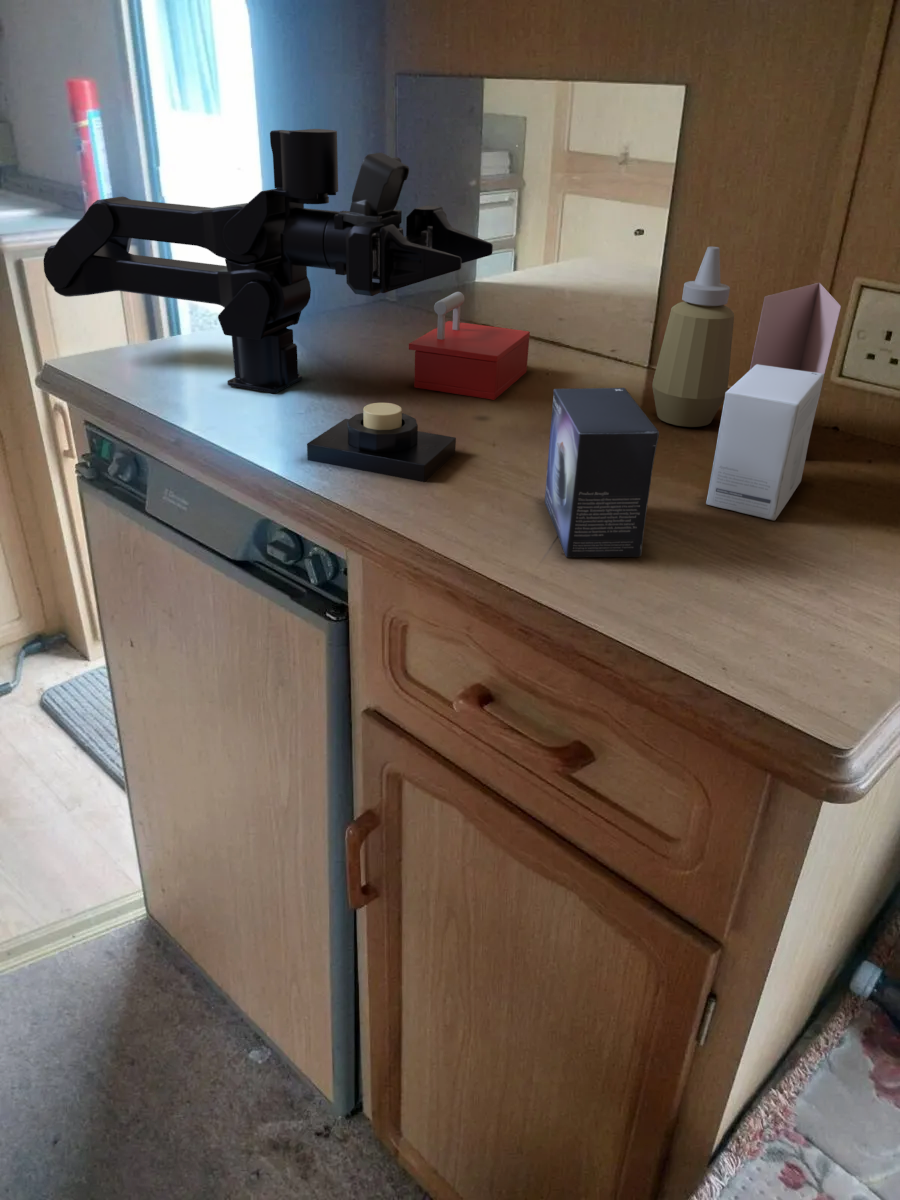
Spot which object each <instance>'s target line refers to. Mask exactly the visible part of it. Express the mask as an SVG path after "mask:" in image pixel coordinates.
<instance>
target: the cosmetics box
mask: <svg viewBox="0 0 900 1200" xmlns="http://www.w3.org/2000/svg"><path fill="white" fill-rule="evenodd" d="M824 378H825V374H822V373H816V372H808V371H801V370H794V369H787V368H780V367H773V366H766V365H759V364H756V365H755V366H754V367H753V368H752V369H751V370H750V369H749V370H748V371H747V372H746V373H744V375H743V376H742V377H741V378H739V379H738V380H737V381H736V382H735V383H734V384H733V385H732V386H731V387H729V389H727V391H726V393H725V398H724V400H723V405H722V410H721V417H720V423H719V428H718V434H717V439H716V446H715V451H714V457H713V463H712V468H711V474H710V479H709V485H708V491H707V497H706V502H705V504H706V505H708V506H710V507H715V508H718V509H723V510H729V511H732V512H733V511H734V512H737V513H741V514H745V515H748V516H749V515H750V516H754V517H757V518H762V519H766V520H769V521H776V519H777V518H778V517H779V515H780V514H781V513H782V511H783V510H784V508H785V507H786V505H787V504H788V502H789V500H790V499H791V498H792V496H793V494H794V493H795V491H796V489H797V488H798V487H799V485H800V484H801V482H802V480H803V479H802V478H803V473H804V469H805V465H806V459H807V453H808V448H809V443H810V438H811V434H812V429H813V425H814V421H815V416H816V412H817V407H818V404H819V400H820V396H821V393H822V387H823V382H824Z"/></svg>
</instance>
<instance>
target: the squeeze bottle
mask: <svg viewBox="0 0 900 1200" xmlns="http://www.w3.org/2000/svg"><path fill="white" fill-rule="evenodd" d="M720 253H721V252H720V247H719V246H707V248H706V250H705V253H704V255H703V258H702V261H701V263H700V267H699V269H698V271H697V274H696V276H695V280H690V281H686V282H684V284H683V288H682V296H681V297H682V298H681V300H682V301H680V302H678V303H676V304H675V305H673V306H672V307H671V309H670V313H669V316H668V320H667V324H666V328H665V332H664V335H663V340H662V344H661V348H660V352H659V356H658V359H657V364H656V367H655V371H654V375H653V380H652V384H651V387H652V393H653V399H654V405H655V411H656V416H657V418H658V419H659V420H660V421H662V422H664V423H667V424H670V425H673V426H677V427H684V428H685V427H687V428H701V427H704V426H708V425H709V424H711V423H712V421H713V420H714V418H715V416H716V414H717V412H718V411H719V409H720V407H721V405H722V404H723V403H724V399H725V393H726V391H728V390H729V389H728V388H729V379H730V378H729V377H730V366H731V356H732V344H733V343H732V342H733V335H734V323H735V313H734V311H733V310H732V309H731V308H730V307H728V306H726V305H727V304H728V302H729V296H730V291H731V287H730V286H729V285H728V284H725V283H721V254H720Z"/></svg>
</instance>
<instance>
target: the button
mask: <svg viewBox="0 0 900 1200" xmlns="http://www.w3.org/2000/svg"><path fill="white" fill-rule="evenodd" d="M362 411H363V412H362V413H363V418H364V426H365V427H367V428H370V429H376V430H392V429H396V428H401V427H402V413H403V408H402V407H401V406H400V405H398V404H395V403H391V402H373V403H368V404H367V405H365V406H364V407H363V409H362Z"/></svg>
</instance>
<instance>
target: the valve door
mask: <svg viewBox="0 0 900 1200" xmlns="http://www.w3.org/2000/svg"><path fill="white" fill-rule="evenodd" d="M464 303H465V295H464V293H462V292H460V291H455V292H453V293H452V294H449V295H447V296H446V297H444V298H441V299H440V300H438V301H436V302H435V304H434V306H433V310H434V313H435V314H436V315H437V327H435V328H433V329H431V330H430V331H428V332H426V333H424V334H423V335H421V336H419V337H418V338H416V339H415V340H413V341H411V342H409V343H408V350H409V351H423V352H430V353H437V354H443V355H450V356H457V357H464V358H471V359H478V360H485V361H492V362H498V361H499V360H500V359H501V358H503V357H504V356H505V355H507V354H508V353H509V352H511V351H512V350H513V349H514V348H516V347H517V346H518V345H520V344H521V343H522V342H524V341H525V340H526V339H527V338H529V339H530V336H531V335H530V334H531V331H528V330H520V329H513V328H507V327H499V326H498V327H497V326H491V325H484V324H483V325H482V324H475V323H467V322H461V307H462V305H464ZM451 311H452V320H447V321H446V314H447V313H450V312H451Z"/></svg>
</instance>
